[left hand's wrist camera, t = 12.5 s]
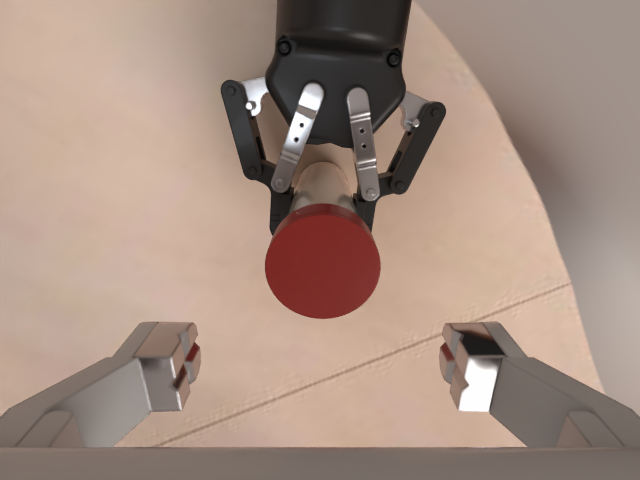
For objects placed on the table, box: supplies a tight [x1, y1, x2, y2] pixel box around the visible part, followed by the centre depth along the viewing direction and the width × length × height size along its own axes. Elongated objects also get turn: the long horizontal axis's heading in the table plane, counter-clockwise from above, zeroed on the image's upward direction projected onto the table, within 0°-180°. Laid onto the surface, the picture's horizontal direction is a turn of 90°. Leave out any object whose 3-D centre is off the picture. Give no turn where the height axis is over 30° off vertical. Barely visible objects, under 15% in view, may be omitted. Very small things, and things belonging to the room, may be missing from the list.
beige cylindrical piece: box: [287, 162, 358, 216], centre depth 23 cm, size 4×4×16 cm
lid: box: [265, 203, 380, 319], centre depth 16 cm, size 5×5×2 cm
